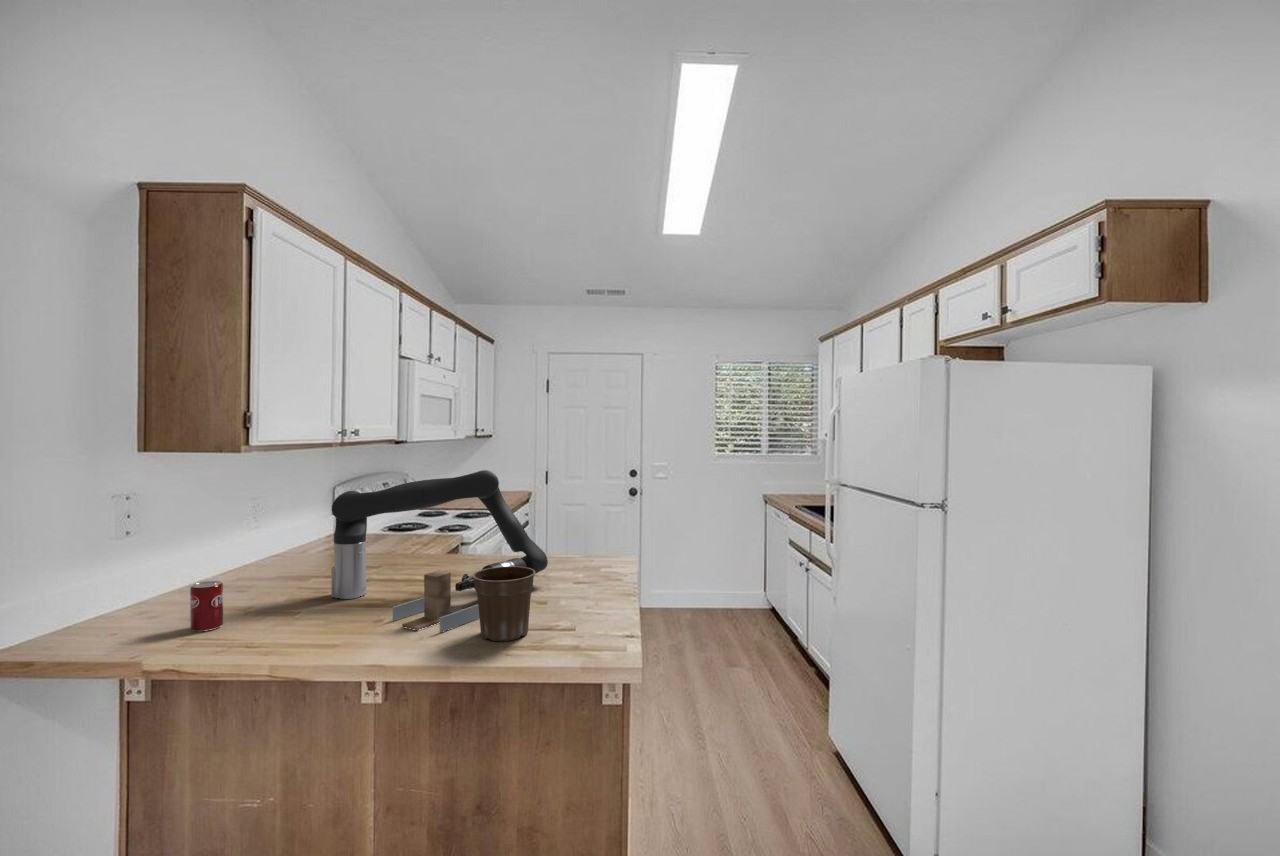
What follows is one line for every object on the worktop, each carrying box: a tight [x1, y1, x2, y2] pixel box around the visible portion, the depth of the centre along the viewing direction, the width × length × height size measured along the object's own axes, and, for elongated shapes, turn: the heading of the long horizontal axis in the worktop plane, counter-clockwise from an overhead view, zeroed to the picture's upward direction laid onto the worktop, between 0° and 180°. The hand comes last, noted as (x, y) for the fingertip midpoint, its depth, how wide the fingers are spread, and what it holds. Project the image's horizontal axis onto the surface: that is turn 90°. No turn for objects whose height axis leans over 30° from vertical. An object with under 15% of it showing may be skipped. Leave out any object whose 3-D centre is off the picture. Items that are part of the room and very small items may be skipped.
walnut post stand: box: [402, 570, 452, 630], centre depth 170 cm, size 12×6×13 cm, turn 150°
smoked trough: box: [392, 597, 479, 633], centre depth 174 cm, size 16×19×4 cm
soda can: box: [189, 580, 224, 632], centre depth 166 cm, size 7×7×12 cm
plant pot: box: [471, 566, 536, 642], centre depth 162 cm, size 16×16×16 cm
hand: (457, 587), depth 179 cm, fingers closed
